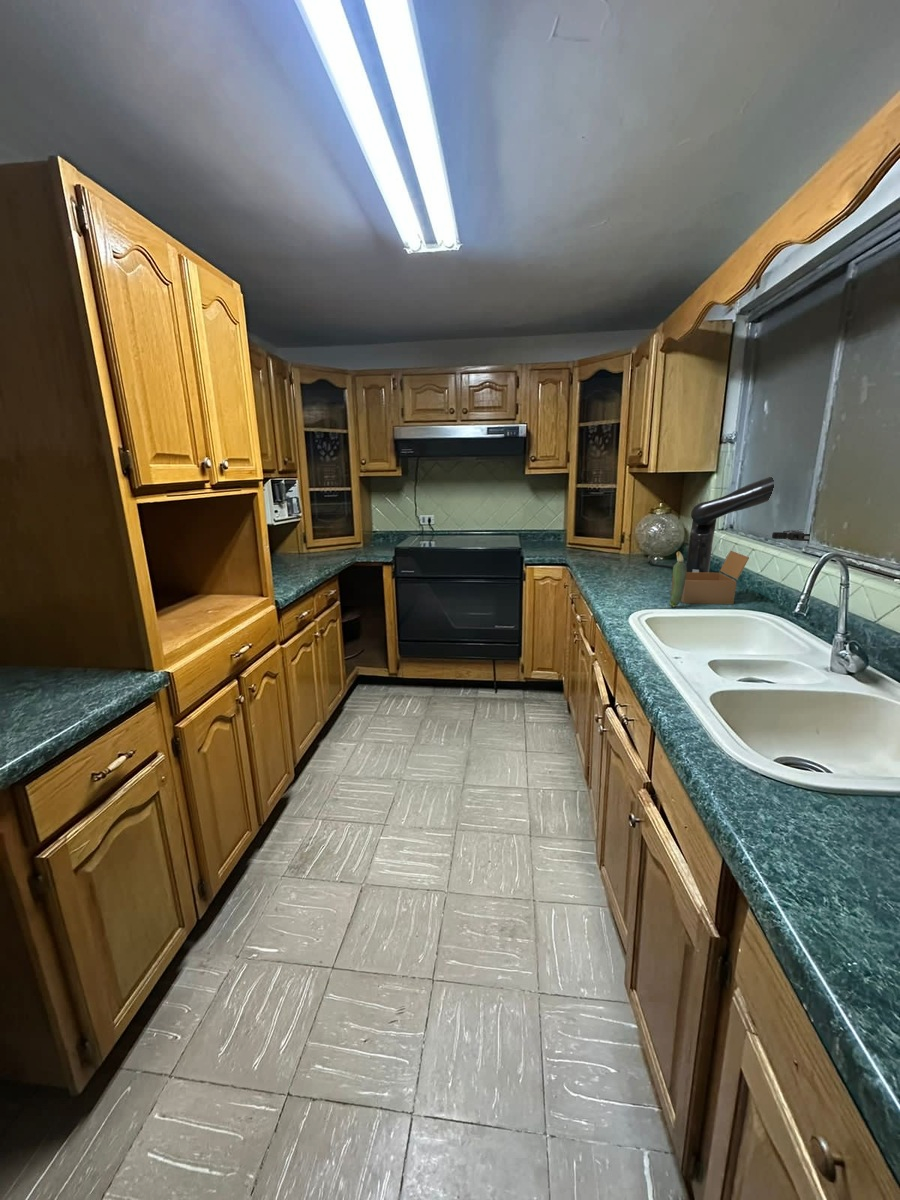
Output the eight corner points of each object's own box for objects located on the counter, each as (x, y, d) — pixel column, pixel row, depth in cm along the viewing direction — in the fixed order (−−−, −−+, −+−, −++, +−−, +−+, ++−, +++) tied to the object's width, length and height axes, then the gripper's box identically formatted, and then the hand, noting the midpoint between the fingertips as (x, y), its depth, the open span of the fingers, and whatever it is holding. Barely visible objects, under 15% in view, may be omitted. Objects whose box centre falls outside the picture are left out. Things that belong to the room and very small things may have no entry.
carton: (670, 593, 189) (673, 572, 187) (717, 594, 186) (719, 572, 184) (683, 603, 174) (685, 580, 172) (733, 604, 172) (736, 581, 170)
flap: (730, 550, 182) (731, 550, 182) (719, 570, 184) (720, 571, 184) (748, 557, 167) (749, 557, 167) (736, 579, 170) (737, 579, 170)
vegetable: (679, 606, 171) (686, 550, 166) (684, 609, 167) (691, 552, 161) (666, 606, 171) (672, 550, 166) (671, 609, 167) (677, 552, 162)
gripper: (817, 523, 175) (765, 523, 178) (840, 527, 163) (784, 527, 165) (813, 543, 177) (762, 543, 180) (836, 549, 165) (781, 548, 167)
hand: (773, 535), depth 172 cm, fingers closed
